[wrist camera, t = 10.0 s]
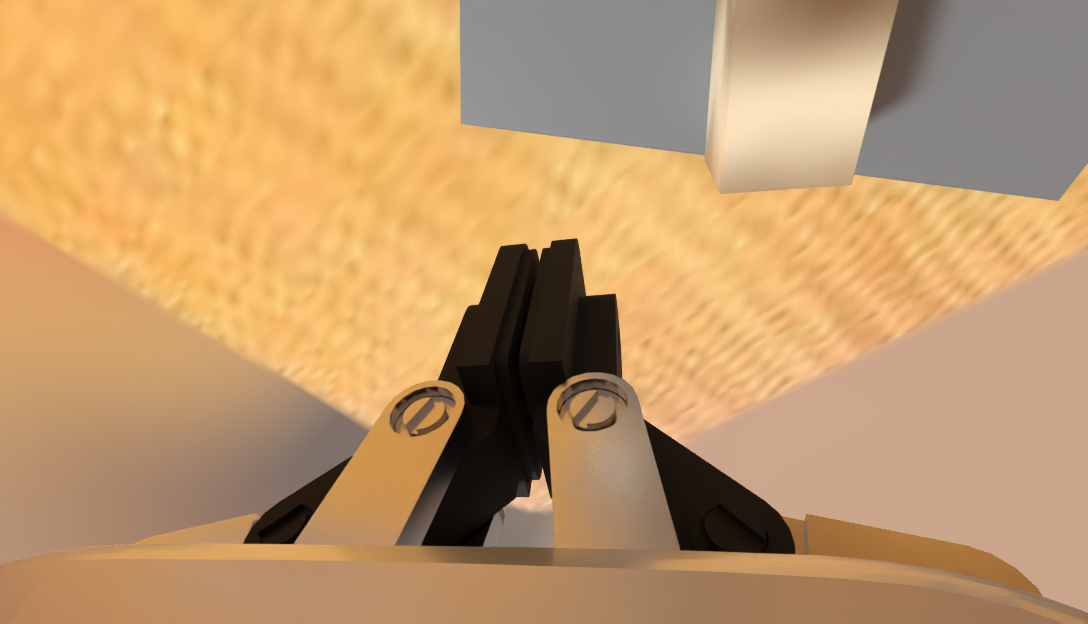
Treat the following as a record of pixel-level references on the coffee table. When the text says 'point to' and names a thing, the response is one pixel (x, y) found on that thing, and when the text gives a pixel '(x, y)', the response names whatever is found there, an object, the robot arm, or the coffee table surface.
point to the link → (792, 90)
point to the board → (897, 109)
